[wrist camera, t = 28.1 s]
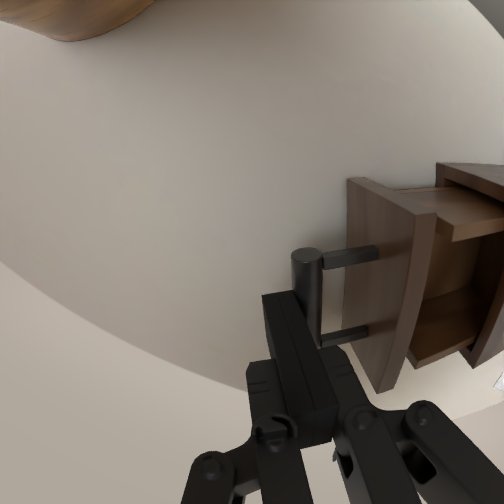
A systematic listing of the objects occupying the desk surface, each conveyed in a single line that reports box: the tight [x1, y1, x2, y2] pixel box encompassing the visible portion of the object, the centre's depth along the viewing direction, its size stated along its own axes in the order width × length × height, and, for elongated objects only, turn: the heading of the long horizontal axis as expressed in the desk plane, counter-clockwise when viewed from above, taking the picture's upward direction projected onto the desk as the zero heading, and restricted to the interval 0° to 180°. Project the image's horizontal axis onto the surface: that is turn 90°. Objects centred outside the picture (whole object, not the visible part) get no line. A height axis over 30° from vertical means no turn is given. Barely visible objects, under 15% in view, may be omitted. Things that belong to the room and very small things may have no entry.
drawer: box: [291, 178, 504, 394], centre depth 14 cm, size 17×11×6 cm, turn 97°
